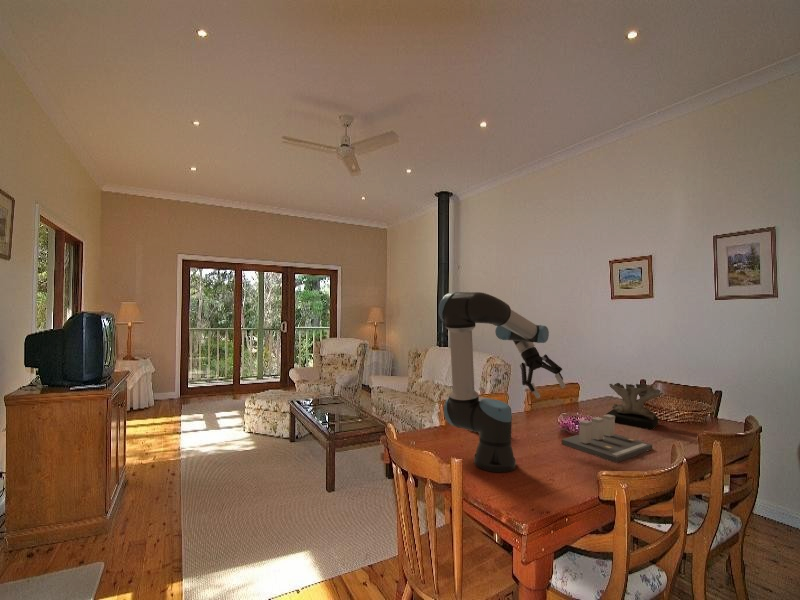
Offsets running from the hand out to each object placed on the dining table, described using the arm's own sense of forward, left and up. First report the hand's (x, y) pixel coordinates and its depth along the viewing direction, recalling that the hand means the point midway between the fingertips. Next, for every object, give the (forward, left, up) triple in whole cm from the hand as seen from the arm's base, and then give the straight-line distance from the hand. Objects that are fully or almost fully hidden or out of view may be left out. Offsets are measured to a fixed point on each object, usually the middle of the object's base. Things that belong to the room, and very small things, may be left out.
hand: (551, 392), depth 180 cm
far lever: (+24, -13, -19) cm, 33 cm away
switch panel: (+15, -17, -21) cm, 31 cm away
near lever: (+6, -13, -19) cm, 24 cm away
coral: (+59, -6, -22) cm, 63 cm away
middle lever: (+15, -13, -19) cm, 27 cm away
